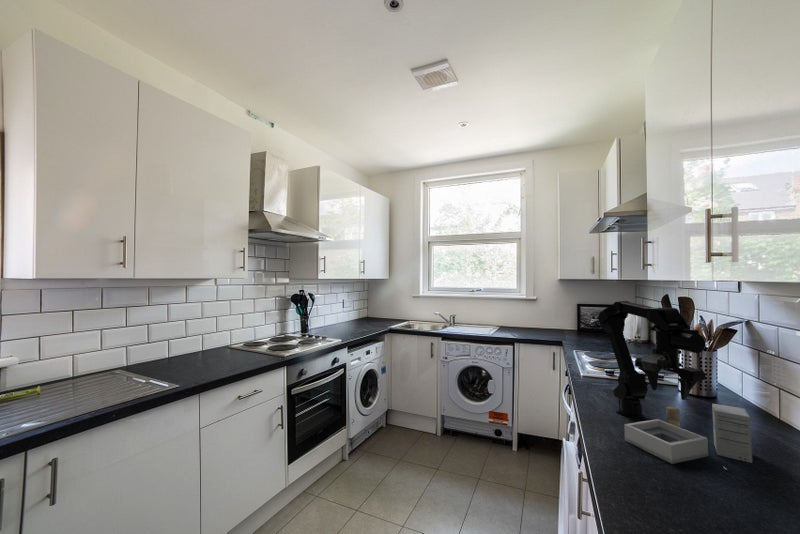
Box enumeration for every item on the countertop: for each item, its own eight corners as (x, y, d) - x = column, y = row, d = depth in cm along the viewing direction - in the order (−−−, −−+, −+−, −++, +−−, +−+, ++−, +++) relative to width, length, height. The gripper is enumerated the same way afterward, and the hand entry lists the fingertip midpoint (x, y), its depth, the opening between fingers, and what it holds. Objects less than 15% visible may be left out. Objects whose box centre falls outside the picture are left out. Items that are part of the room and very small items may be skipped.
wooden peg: (664, 428, 113) (663, 407, 113) (672, 427, 114) (671, 406, 114) (675, 433, 110) (674, 411, 110) (683, 431, 111) (682, 410, 111)
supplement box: (713, 445, 102) (711, 402, 102) (748, 452, 97) (746, 408, 97) (715, 455, 96) (713, 410, 96) (753, 463, 91) (750, 416, 92)
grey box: (624, 440, 105) (624, 424, 105) (658, 434, 109) (657, 418, 109) (671, 463, 91) (671, 445, 92) (708, 456, 95) (707, 438, 95)
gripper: (621, 342, 116) (622, 387, 116) (678, 354, 98) (679, 408, 98) (646, 340, 119) (648, 385, 119) (706, 352, 101) (708, 404, 101)
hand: (668, 394), depth 109 cm, fingers open, 9 cm apart
